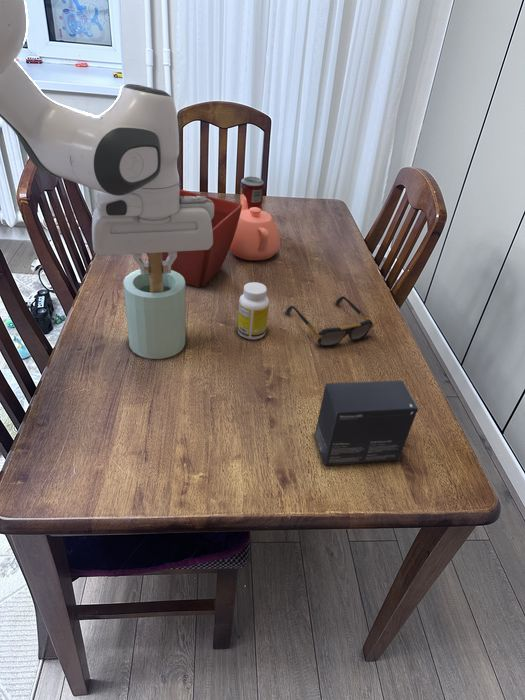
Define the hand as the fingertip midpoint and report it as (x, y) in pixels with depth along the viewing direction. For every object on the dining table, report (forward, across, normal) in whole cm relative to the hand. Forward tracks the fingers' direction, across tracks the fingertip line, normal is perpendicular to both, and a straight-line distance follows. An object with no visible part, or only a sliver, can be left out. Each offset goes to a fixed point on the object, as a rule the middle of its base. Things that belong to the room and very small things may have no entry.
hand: (155, 272), depth 87 cm
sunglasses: (+17, -38, -1) cm, 42 cm away
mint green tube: (+17, 0, -2) cm, 17 cm away
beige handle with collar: (+11, 0, 0) cm, 11 cm away
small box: (+17, -28, +33) cm, 47 cm away
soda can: (+17, -38, -62) cm, 74 cm away
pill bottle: (+17, -20, -2) cm, 27 cm away
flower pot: (+17, -12, -30) cm, 37 cm away
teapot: (+17, -31, -40) cm, 54 cm away
